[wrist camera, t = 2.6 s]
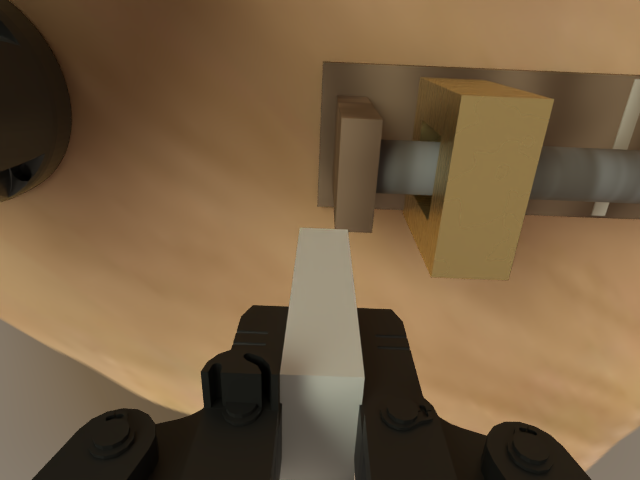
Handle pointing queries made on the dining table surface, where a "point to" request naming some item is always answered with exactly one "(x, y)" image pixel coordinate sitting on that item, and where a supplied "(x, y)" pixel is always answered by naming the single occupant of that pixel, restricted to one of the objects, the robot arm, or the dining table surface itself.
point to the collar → (475, 174)
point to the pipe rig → (421, 156)
